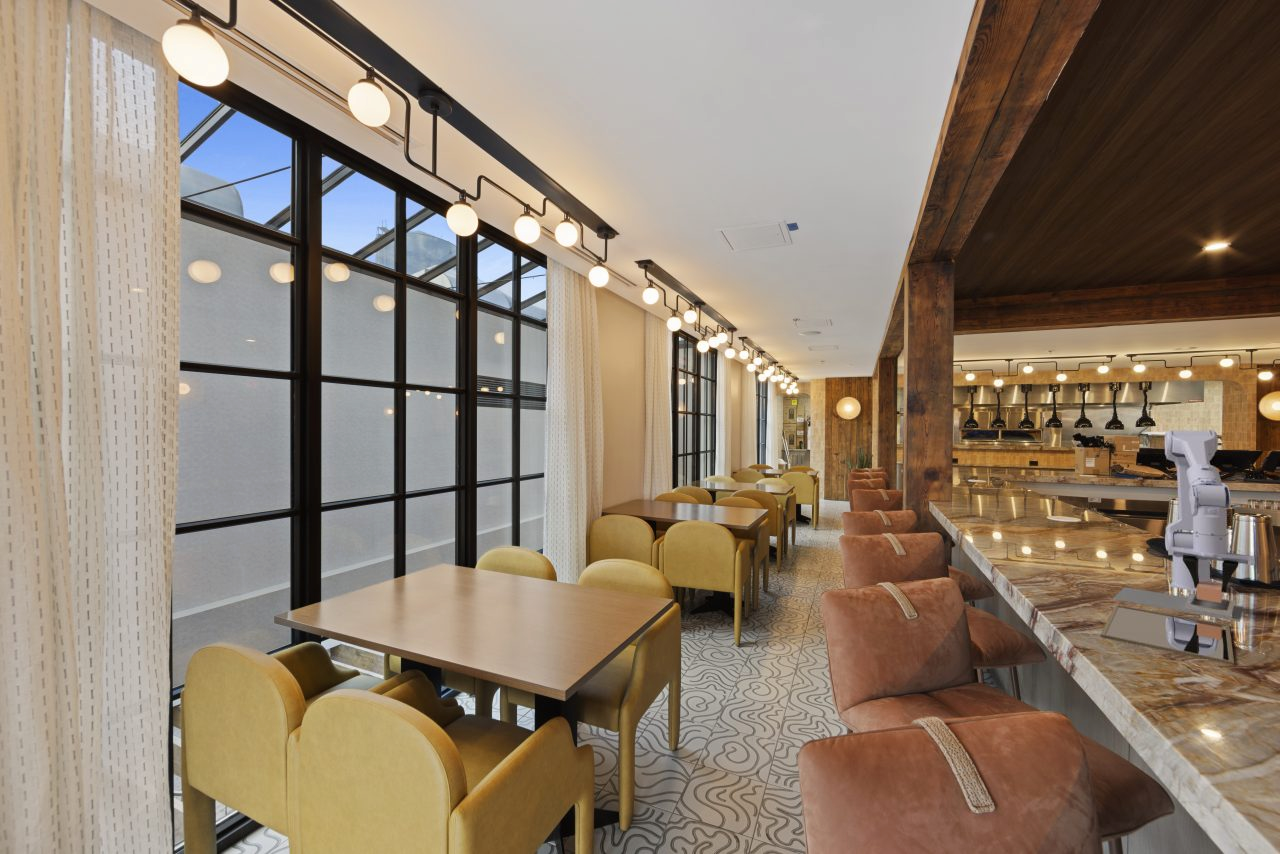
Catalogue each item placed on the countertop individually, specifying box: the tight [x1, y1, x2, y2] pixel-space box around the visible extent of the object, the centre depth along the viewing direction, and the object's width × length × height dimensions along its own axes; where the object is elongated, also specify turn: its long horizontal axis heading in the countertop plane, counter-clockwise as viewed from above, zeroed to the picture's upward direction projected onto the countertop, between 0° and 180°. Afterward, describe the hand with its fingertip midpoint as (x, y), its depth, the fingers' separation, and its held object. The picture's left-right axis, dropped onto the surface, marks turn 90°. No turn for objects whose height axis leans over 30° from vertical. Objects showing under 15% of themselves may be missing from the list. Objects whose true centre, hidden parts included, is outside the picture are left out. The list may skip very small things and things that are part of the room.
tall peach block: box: [1196, 580, 1225, 603], centre depth 132 cm, size 4×9×3 cm, turn 130°
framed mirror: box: [1100, 604, 1235, 666], centre depth 118 cm, size 19×1×28 cm
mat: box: [1112, 586, 1244, 623], centre depth 136 cm, size 16×22×1 cm
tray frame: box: [1186, 593, 1236, 618], centre depth 132 cm, size 13×8×2 cm, turn 130°
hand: (1210, 589), depth 132 cm, fingers closed on tall peach block, 4 cm apart
